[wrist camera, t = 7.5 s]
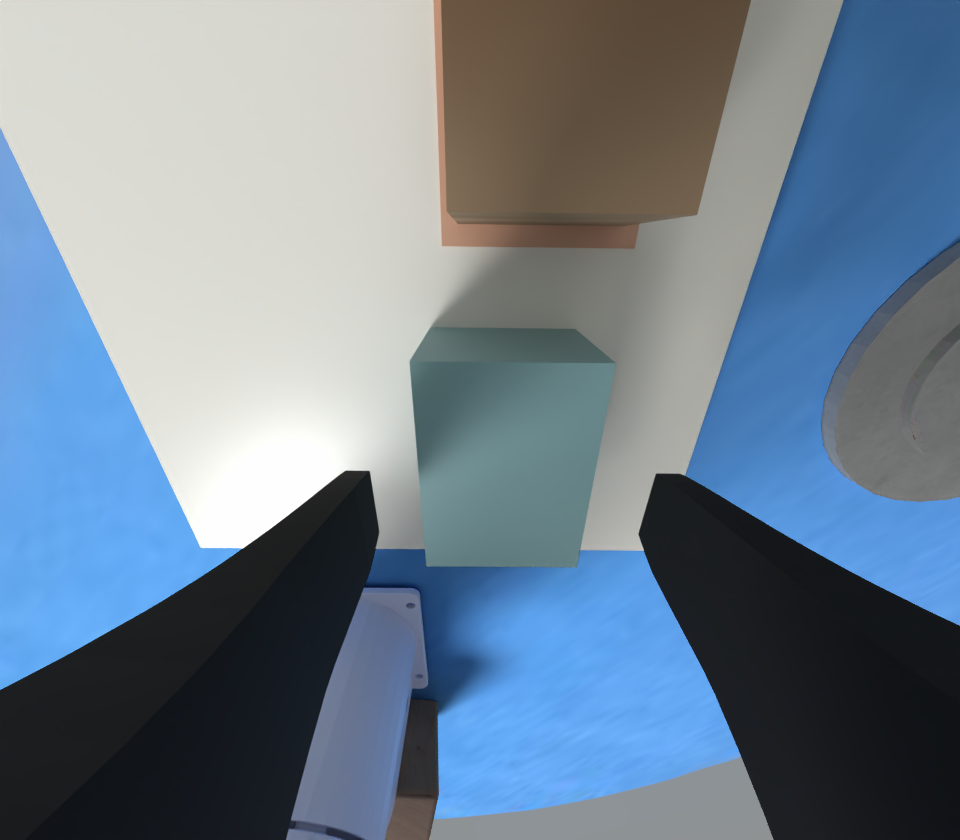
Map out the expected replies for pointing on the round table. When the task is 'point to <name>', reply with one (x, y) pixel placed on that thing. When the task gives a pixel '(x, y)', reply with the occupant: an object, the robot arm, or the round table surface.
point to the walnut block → (583, 107)
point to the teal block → (507, 443)
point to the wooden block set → (417, 775)
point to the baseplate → (358, 242)
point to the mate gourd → (902, 392)
